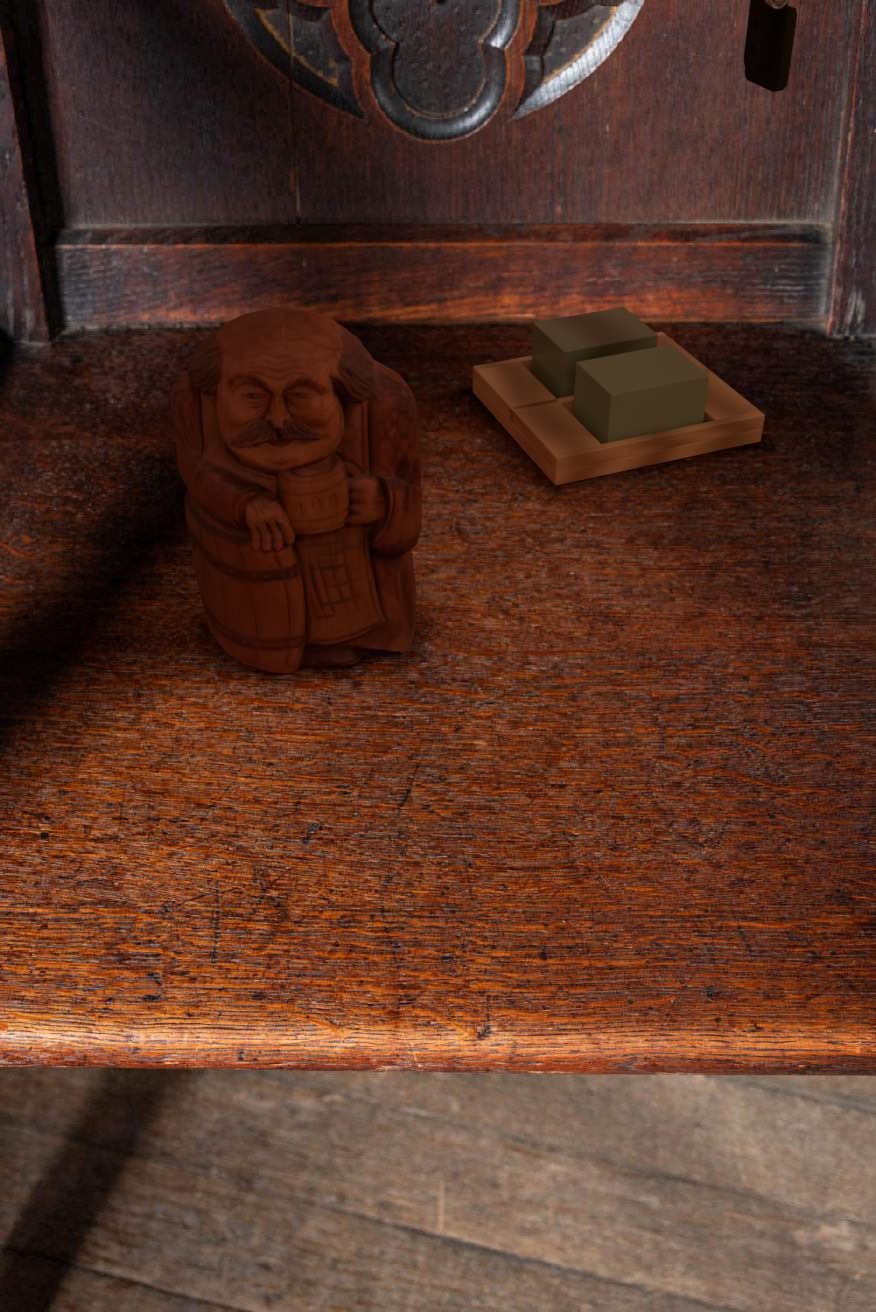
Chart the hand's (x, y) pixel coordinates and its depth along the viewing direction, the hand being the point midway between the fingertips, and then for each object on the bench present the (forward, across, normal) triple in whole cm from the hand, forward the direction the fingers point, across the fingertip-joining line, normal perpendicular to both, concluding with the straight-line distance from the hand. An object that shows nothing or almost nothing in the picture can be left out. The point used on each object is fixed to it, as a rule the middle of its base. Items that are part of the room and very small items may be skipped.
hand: (842, 74), depth 68 cm
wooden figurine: (+23, -34, -8) cm, 42 cm away
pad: (+22, -8, +5) cm, 24 cm away
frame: (+23, -8, +8) cm, 26 cm away
